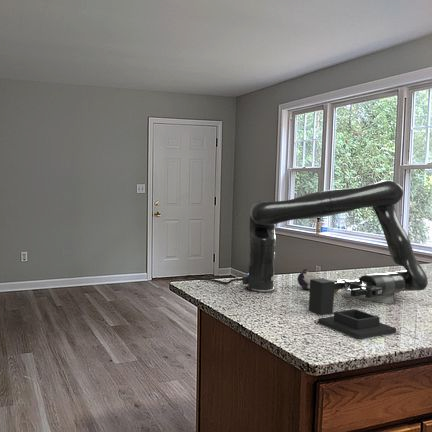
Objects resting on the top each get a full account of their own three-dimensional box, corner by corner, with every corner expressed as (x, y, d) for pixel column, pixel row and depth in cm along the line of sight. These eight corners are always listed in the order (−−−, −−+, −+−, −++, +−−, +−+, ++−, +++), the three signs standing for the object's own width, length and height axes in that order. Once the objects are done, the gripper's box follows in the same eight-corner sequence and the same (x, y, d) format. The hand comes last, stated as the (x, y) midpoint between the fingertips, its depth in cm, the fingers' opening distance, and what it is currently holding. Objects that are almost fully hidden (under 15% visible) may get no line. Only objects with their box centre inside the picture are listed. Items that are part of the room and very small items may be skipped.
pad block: (320, 314, 133) (322, 282, 132) (308, 310, 138) (310, 279, 137) (332, 313, 135) (334, 281, 134) (320, 308, 140) (322, 278, 139)
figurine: (331, 293, 154) (292, 277, 164) (330, 306, 157) (292, 289, 167) (343, 277, 159) (304, 262, 168) (342, 290, 162) (304, 275, 172)
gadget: (392, 303, 147) (392, 293, 146) (343, 296, 155) (344, 286, 154) (396, 290, 165) (397, 280, 165) (353, 284, 174) (354, 275, 173)
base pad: (358, 339, 113) (359, 325, 113) (317, 322, 126) (318, 310, 126) (395, 332, 119) (396, 319, 118) (353, 317, 132) (353, 305, 131)
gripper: (359, 269, 152) (323, 273, 145) (396, 278, 139) (360, 283, 132) (358, 291, 152) (323, 295, 146) (395, 301, 139) (359, 307, 133)
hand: (340, 289), depth 139 cm, fingers open, 8 cm apart
